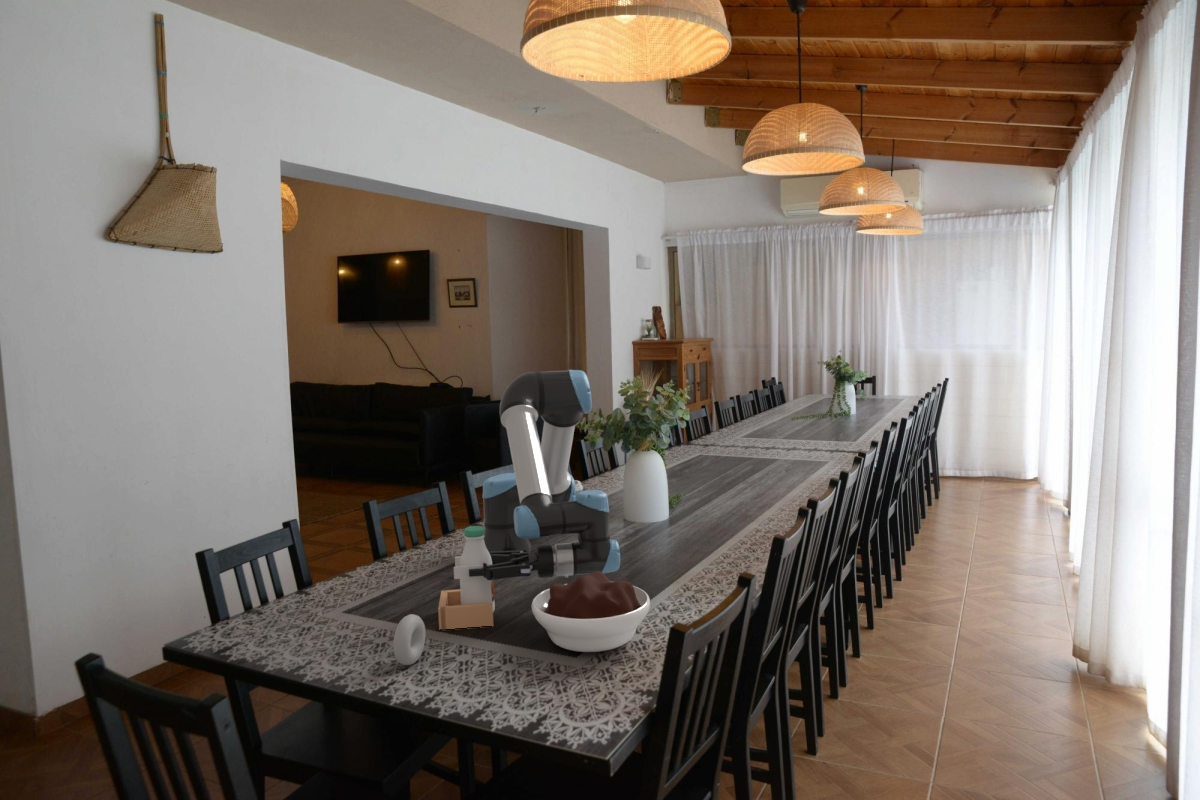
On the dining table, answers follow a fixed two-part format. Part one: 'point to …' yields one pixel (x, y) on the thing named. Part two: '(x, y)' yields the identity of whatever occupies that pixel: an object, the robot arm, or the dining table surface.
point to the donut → (409, 639)
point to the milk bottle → (476, 555)
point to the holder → (462, 612)
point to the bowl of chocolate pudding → (591, 612)
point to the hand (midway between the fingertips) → (454, 567)
